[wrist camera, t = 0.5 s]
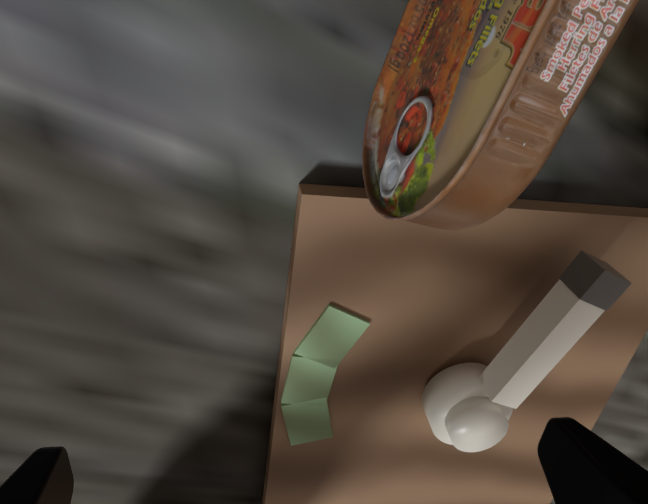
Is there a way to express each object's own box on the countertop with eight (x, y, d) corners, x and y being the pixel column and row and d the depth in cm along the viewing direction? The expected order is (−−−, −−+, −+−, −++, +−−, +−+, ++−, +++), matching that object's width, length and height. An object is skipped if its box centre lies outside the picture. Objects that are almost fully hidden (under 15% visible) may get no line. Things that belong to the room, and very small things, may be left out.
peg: (468, 427, 29) (488, 468, 27) (406, 410, 28) (421, 452, 25) (612, 260, 24) (652, 292, 22) (547, 228, 23) (582, 259, 20)
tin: (522, -290, 15) (779, -521, 8) (602, -236, 16) (897, -398, 9) (342, 163, 22) (392, 264, 14) (406, 183, 22) (484, 288, 15)
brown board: (541, 487, 36) (551, 506, 35) (262, 501, 32) (263, 522, 31) (689, 211, 25) (711, 223, 24) (299, 183, 22) (302, 196, 20)
